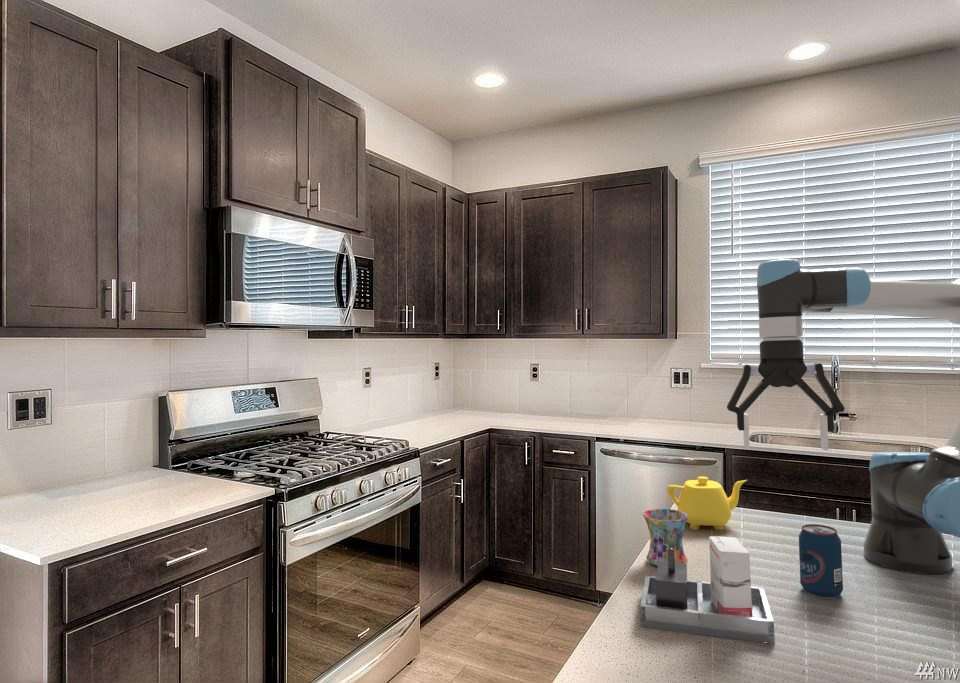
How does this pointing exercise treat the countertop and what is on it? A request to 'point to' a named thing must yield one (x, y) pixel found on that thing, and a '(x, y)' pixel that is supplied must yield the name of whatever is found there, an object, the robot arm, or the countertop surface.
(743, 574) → the ink box
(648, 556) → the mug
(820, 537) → the soda can
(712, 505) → the teapot
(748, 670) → the countertop surface
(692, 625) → the divided grey tray
